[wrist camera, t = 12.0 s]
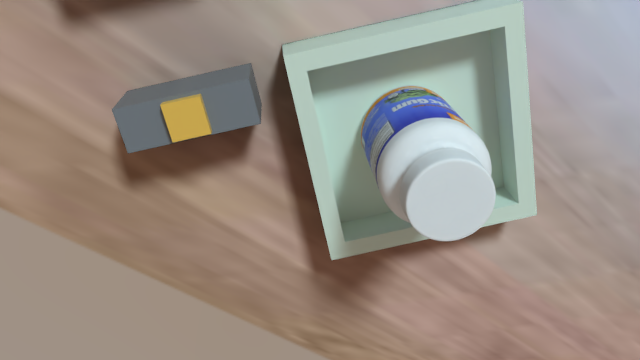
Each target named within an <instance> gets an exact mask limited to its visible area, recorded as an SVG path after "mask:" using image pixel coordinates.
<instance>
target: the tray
mask: <svg viewBox="0 0 640 360" xmlns="http://www.w3.org/2000/svg"><path fill="white" fill-rule="evenodd" d="M282 49H283V57H284V62H285V66H286V70H287V74H288V79H289V83H290V87H291V91H292V96H293V100H294V104H295V108H296V113H297V117H298V121H299V125H300V130H301V134H302V138H303V142H304V146H305V151H306V155H307V159H308V163H309V168H310V172H311V176H312V180H313V185H314V189H315V193H316V197H317V202H318V206H319V210H320V214H321V218H322V223H323V227H324V231H325V235H326V240H327V244H328V248H329V252H330V257H331V260H336V259H340V258H345V257H349V256H354V255H358V254H363V253H367V252H372V251H376V250H381V249H385V248H390V247H394V246H399V245H404V244H408V243H413V242H417V241H422V240H426V239H429V238H427V237H425V236H423V235H421V234H420V233H419V232H417V231H416V230H415V229H414V228H413V226H412V225H411V224H410V223H409V222H406V221H404V220H402V219H401V218H399V217H398V216H397V215H396V214H394V213H393V212H392V211H391V210H390V208H389V207H388V206H387V204H386V203H385V201H384V199H383V197H382V195H381V193H380V191H379V188H378V185H377V183H376V180H375V178H374V175H373V173H372V170H371V167H370V165H369V162H368V160H367V157H366V155H365V152H364V150H363V147H362V144H361V126H362V121H363V118H364V116H365V114H366V112H367V110H368V109H369V107H370V106H371V105H372V103H373V102H374V101H375V100H376V99H377V98H378V97H379V96H380V95H382V94H383V93H385V92H387V91H389V90H391V89H393V88H396V87H400V86H405V85H415V86H421V87H425V88H428V89H430V90H432V91H434V92H435V93H437V94H438V95H439V96H441V97H442V98H443V99H444V100H445V101H446V102H447V103H448V104H449V105H450V106H451V107H452V108H453V109H454V110H455V112H456V113H457V114H458V115H459V116H460V117H461V118H462V119H463V120H464V121H465V122H466V123H467V124H468V125H469V126H470V127H471V128H472V130H473V131H474V132H475V133H476V134H477V135H478V136H479V137H480V139H481V140H482V141H483V143H484V144H485V146H486V148H487V150H488V152H489V155H490V160H491V166H492V173H491V178H492V180H493V182H494V185H495V191H496V199H495V205H494V208H493V211H492V213H491V215H490V217H489V218H488V220H487V221H486V222H485V224H484V225H483V226H482V227H485V226H489V225H494V224H498V223H503V222H507V221H512V220H516V219H521V218H525V217H530V216H535V215H537V208H536V193H535V178H534V163H533V147H532V132H531V117H530V102H529V86H528V71H527V56H526V41H525V25H524V10H523V2H522V1H519V0H477V1H472V2H468V3H464V4H459V5H455V6H450V7H446V8H442V9H437V10H433V11H428V12H424V13H420V14H415V15H411V16H406V17H402V18H398V19H393V20H389V21H384V22H380V23H376V24H371V25H367V26H362V27H358V28H353V29H349V30H345V31H340V32H336V33H331V34H327V35H323V36H318V37H314V38H309V39H305V40H301V41H296V42H292V43H287V44H283V45H282Z"/></svg>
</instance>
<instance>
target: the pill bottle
mask: <svg viewBox="0 0 640 360" xmlns="http://www.w3.org/2000/svg"><path fill="white" fill-rule="evenodd" d="M361 144H362V147H363V150H364V152H365V155H366V157H367V160H368V162H369V165H370V167H371V170H372V173H373V175H374V178H375V180H376V183H377V185H378V188H379V191H380V193H381V195H382V197H383V199H384V201H385V203H386V204H387V206H388V207H389V208H390V210H391V211H392V212H393V213H394V214H396V215H397V216H398V217H399V218H401V219H402V220H404V221H406V222H409V223H410V224H411V225H412V226H413V228H414V229H415V230H416V231H417V232H419V233H420V234H421V235H423V236H425V237H427V238H429V239H432V240H436V241H455V240H459V239H462V238H465V237H467V236H469V235H471V234H473V233H474V232H476V231H477V230H478V229H479V228H481V227H482V226H483V225H484V224H485V222H486V221H487V220H488V218H489V217H490V215H491V213H492V211H493V208H494V205H495V199H496V191H495V185H494V182H493V180H492V178H491V173H492V166H491V160H490V155H489V152H488V150H487V148H486V146H485V144H484V143H483V141H482V140H481V139H480V137H479V136H478V135H477V134H476V133H475V132H474V131H473V130H472V128H471V127H470V126H469V125H468V124H467V123H466V122H465V121H464V120H463V119H462V118H461V117H460V116H459V115H458V114H457V113H456V112H455V110H454V109H453V108H452V107H451V106H450V105H449V104H448V103H447V102H446V101H445V100H444V99H443V98H442V97H441V96H439V95H438V94H437V93H435V92H434V91H432V90H430V89H428V88H425V87H421V86H415V85H405V86H400V87H396V88H393V89H391V90H389V91H387V92H385V93H383V94H382V95H380V96H379V97H378V98H377V99H376V100H375V101H374V102H373V103H372V105H371V106H370V107H369V109H368V110H367V112H366V114H365V116H364V118H363V121H362V126H361Z"/></svg>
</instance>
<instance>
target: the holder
mask: <svg viewBox="0 0 640 360" xmlns="http://www.w3.org/2000/svg"><path fill="white" fill-rule="evenodd" d="M261 107H262V104H261V100H260V96H259V92H258V88H257V84H256V81H255V77H254V73H253V69H252V65H251V63H249V64H245V65H240V66H236V67H231V68H227V69H223V70H218V71H214V72H209V73H205V74H201V75H196V76H192V77H187V78H183V79H179V80H174V81H170V82H165V83H161V84H156V85H152V86H148V87H143V88H139V89H134V90H130V91H127V92H126V93H125V94H124V96H123V97H122V98H121V99H120V100H119V102H118V103H117V104H116V105H115V106H114V108H113V109H112V111H113V114H114V117H115V120H116V122H117V125H118V128H119V130H120V133H121V136H122V138H123V141H124V144H125V147H126V149H127V152H128V153H132V152H137V151H141V150H146V149H150V148H154V147H159V146H163V145H168V144H172V143H177V142H181V141H186V140H190V139H194V138H199V137H203V136H208V135H212V134H217V133H221V132H226V131H230V130H234V129H239V128H243V127H248V126H252V125H257V124H261Z"/></svg>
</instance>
